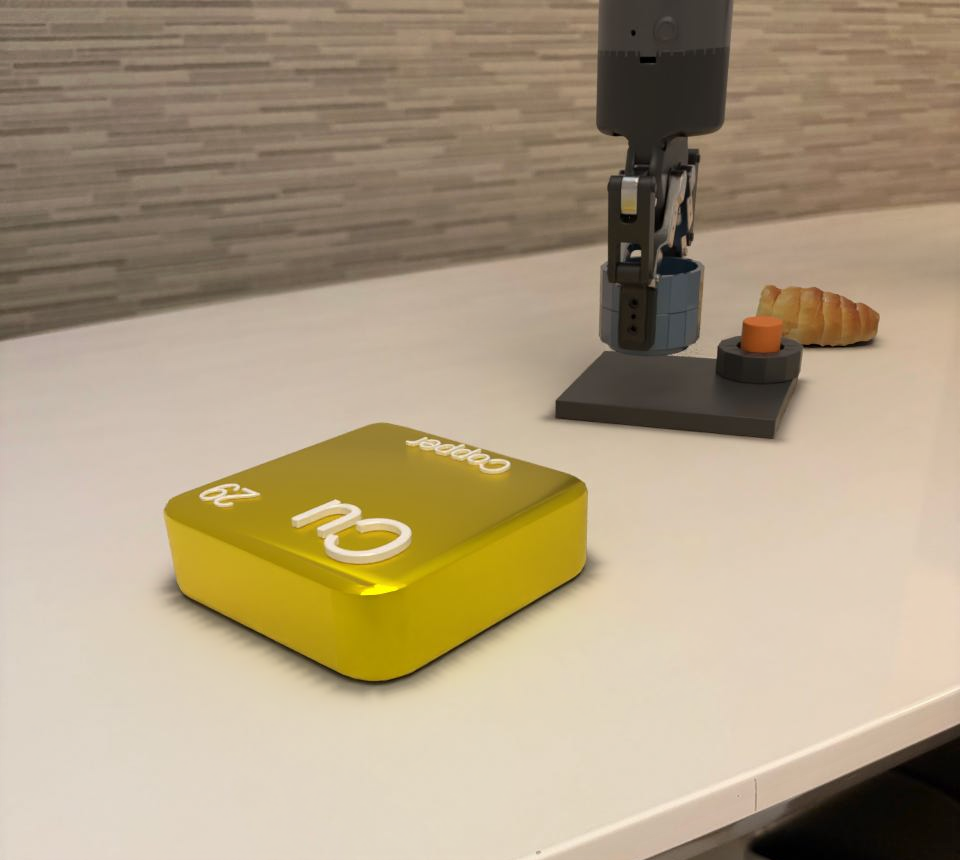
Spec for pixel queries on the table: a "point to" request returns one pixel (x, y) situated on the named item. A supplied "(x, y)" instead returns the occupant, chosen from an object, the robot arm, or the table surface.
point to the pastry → (818, 316)
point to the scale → (688, 390)
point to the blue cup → (660, 307)
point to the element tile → (378, 546)
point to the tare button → (761, 334)
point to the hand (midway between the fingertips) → (649, 333)
